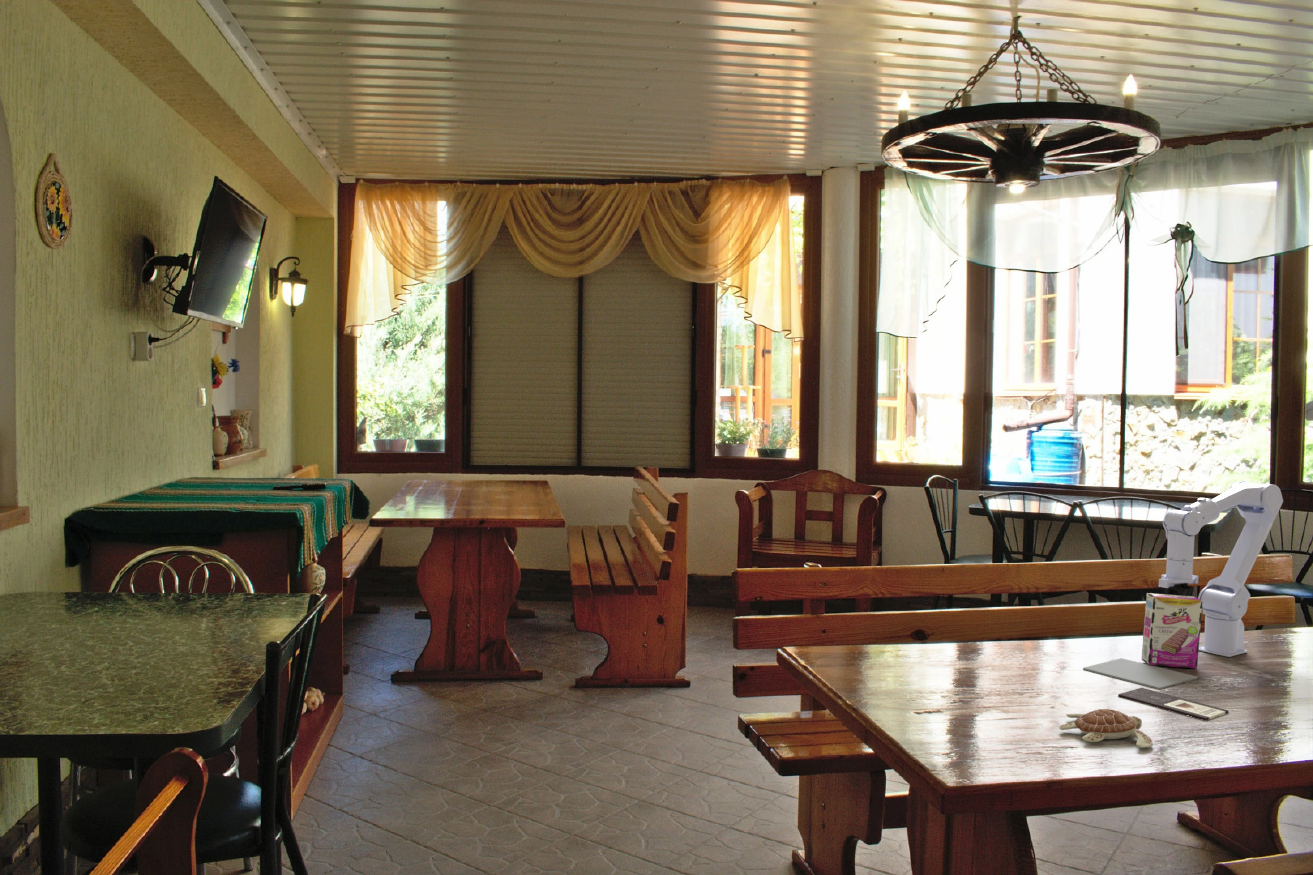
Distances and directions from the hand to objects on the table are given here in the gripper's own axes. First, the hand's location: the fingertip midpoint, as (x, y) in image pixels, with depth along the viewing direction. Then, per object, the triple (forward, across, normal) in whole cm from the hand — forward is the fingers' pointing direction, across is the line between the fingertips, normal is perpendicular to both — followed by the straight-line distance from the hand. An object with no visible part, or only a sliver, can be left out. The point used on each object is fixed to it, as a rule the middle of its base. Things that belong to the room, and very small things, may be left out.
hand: (1177, 614), depth 239 cm
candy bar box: (+10, +9, +4) cm, 15 cm away
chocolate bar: (+12, +38, +20) cm, 45 cm away
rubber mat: (+11, +22, +4) cm, 25 cm away
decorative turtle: (+12, +67, +23) cm, 72 cm away
